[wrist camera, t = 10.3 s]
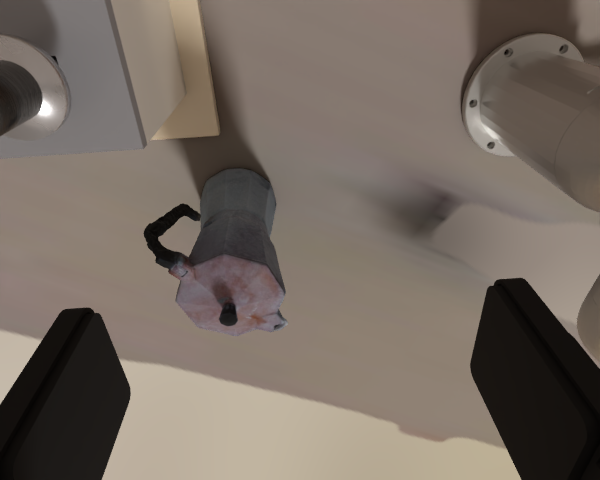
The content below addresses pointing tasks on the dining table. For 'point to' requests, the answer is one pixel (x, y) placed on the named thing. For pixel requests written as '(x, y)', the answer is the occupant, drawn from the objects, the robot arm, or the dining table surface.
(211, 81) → the white box
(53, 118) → the plunger
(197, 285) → the moka pot
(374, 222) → the dining table surface
